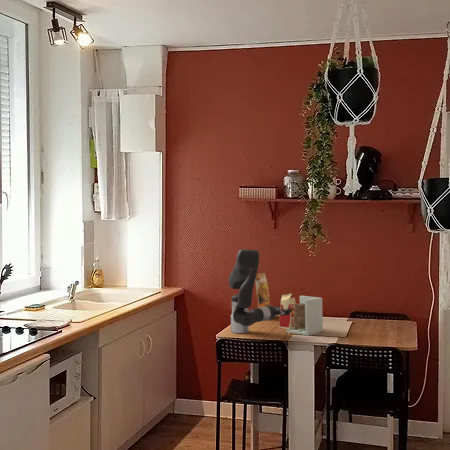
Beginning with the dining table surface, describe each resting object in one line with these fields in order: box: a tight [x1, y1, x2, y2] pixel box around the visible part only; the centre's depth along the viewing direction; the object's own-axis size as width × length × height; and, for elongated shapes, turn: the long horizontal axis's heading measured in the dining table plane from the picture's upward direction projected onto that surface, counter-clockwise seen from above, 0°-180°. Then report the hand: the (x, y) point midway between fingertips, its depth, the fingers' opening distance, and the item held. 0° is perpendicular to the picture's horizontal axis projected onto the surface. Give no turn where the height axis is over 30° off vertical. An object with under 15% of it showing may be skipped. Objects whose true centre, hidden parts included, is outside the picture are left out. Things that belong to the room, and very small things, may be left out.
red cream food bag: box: [278, 292, 297, 330], centre depth 410 cm, size 9×9×20 cm
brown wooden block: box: [294, 302, 305, 330], centre depth 397 cm, size 4×6×14 cm, turn 133°
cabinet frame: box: [285, 295, 324, 337], centre depth 394 cm, size 15×13×19 cm
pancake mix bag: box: [254, 272, 271, 308], centre depth 443 cm, size 7×19×28 cm, turn 151°
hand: (285, 309), depth 388 cm, fingers open, 8 cm apart
